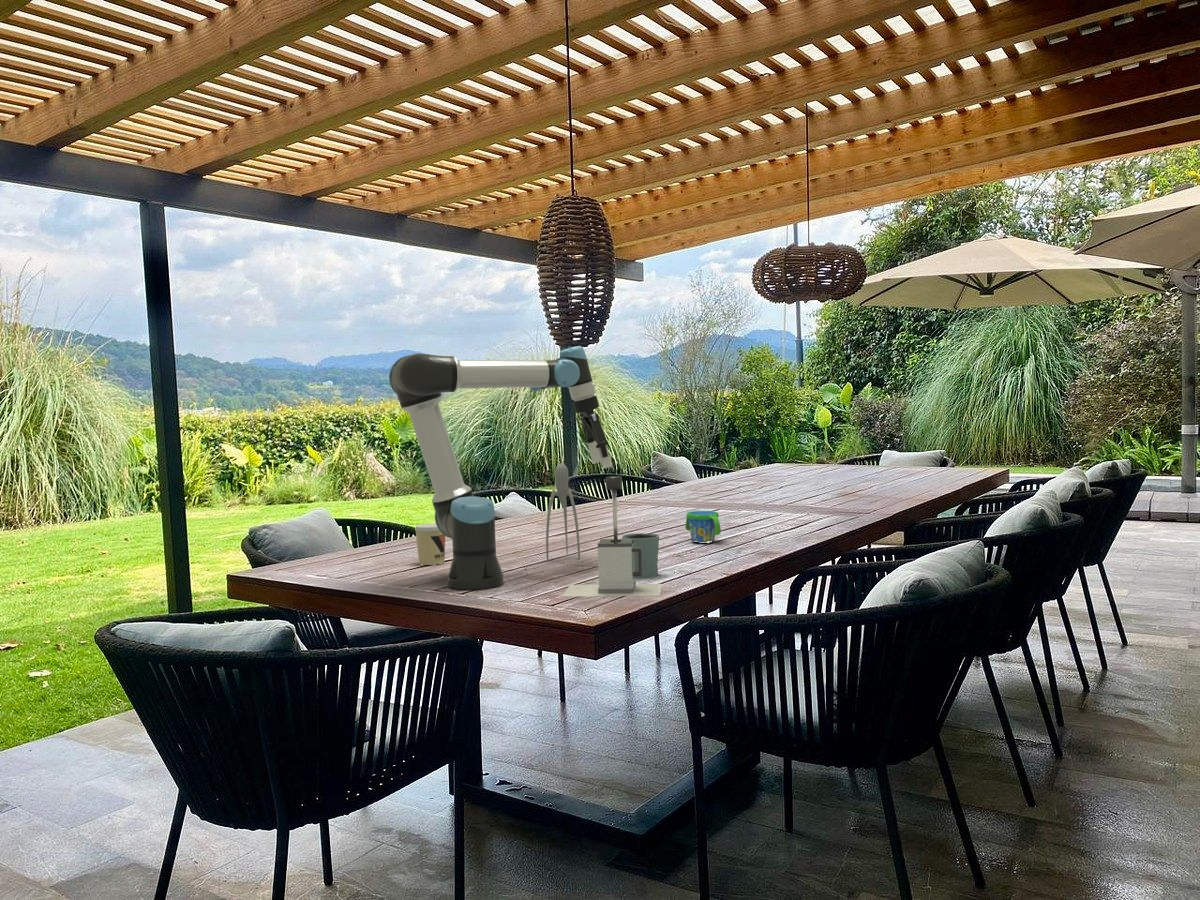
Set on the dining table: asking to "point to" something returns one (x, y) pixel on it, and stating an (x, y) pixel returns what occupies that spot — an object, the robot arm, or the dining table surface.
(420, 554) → the coffee cup
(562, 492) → the juicer
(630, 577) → the block
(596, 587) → the plate
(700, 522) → the snack cup
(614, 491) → the plunger
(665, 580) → the dining table surface
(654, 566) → the green mug
